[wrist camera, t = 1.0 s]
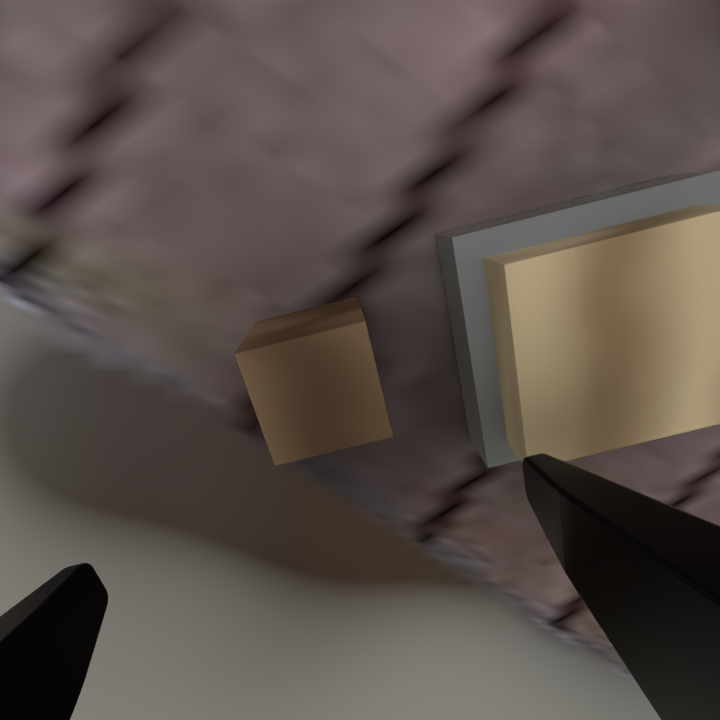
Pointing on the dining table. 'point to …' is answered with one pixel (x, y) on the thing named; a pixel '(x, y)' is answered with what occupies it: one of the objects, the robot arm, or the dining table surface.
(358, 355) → the walnut cube
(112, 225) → the dining table surface
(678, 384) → the oak block
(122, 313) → the dining table surface
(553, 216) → the slate slab
